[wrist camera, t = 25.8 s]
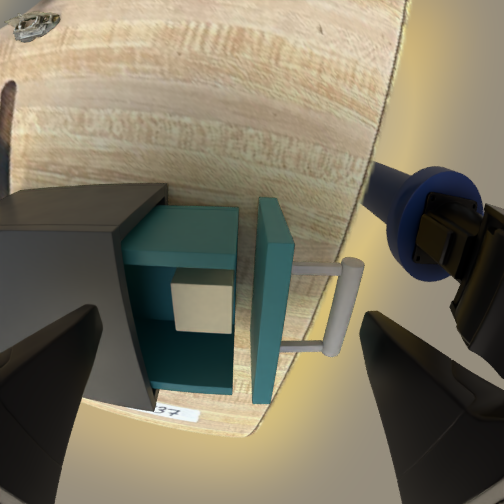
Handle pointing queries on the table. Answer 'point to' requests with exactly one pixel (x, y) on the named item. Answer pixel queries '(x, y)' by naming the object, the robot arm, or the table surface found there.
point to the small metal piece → (33, 25)
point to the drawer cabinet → (77, 275)
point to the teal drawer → (263, 299)
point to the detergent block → (203, 299)
